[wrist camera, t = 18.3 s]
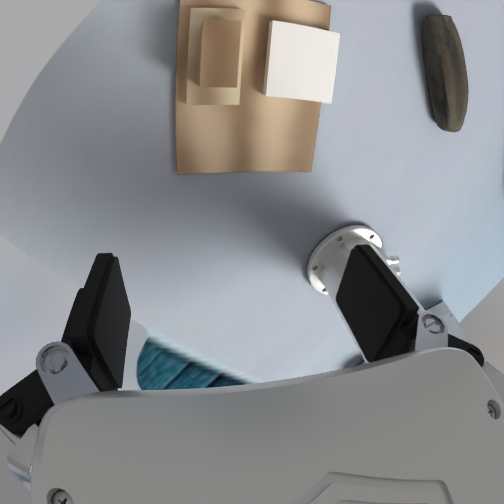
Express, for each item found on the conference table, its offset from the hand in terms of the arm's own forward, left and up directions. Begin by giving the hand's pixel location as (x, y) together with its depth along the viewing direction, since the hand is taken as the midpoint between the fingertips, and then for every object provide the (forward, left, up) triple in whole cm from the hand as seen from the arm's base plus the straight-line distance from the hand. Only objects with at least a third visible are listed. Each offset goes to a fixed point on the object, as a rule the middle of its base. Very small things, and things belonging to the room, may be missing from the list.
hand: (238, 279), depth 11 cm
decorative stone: (-30, -13, -22) cm, 40 cm away
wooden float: (-1, -9, -21) cm, 23 cm away
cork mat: (-5, -6, -21) cm, 23 cm away
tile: (-9, -5, -20) cm, 23 cm away
